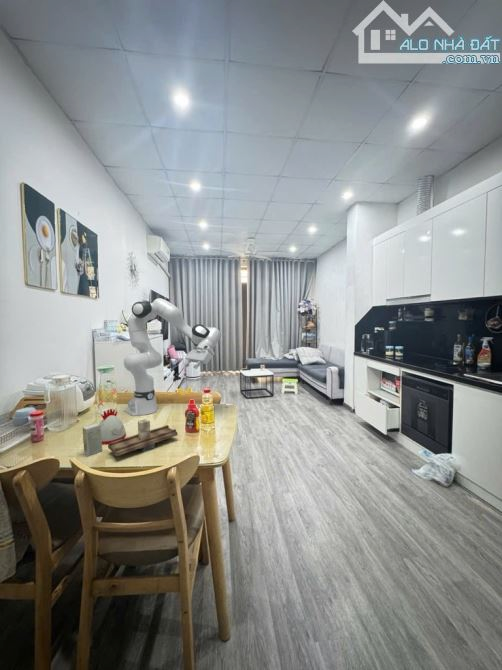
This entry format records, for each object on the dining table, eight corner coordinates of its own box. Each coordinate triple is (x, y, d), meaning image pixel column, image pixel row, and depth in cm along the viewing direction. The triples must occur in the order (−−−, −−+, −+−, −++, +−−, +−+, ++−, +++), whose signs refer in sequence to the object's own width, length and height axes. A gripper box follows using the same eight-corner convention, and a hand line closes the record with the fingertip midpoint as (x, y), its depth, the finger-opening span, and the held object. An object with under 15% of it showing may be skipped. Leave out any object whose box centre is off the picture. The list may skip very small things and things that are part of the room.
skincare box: (98, 448, 122) (97, 422, 122) (102, 451, 119) (101, 424, 119) (83, 453, 117) (82, 426, 117) (86, 456, 114) (85, 429, 114)
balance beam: (166, 433, 137) (166, 424, 137) (177, 440, 129) (177, 430, 129) (108, 453, 117) (107, 442, 117) (117, 462, 109) (116, 450, 109)
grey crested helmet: (88, 441, 130) (87, 411, 129) (114, 431, 142) (113, 403, 141) (106, 447, 123) (105, 415, 123) (131, 435, 135) (130, 407, 135)
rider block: (146, 435, 126) (146, 418, 126) (150, 437, 123) (149, 420, 123) (138, 437, 123) (137, 421, 123) (141, 440, 120) (141, 423, 120)
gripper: (191, 345, 169) (178, 362, 163) (210, 347, 155) (196, 365, 148) (197, 351, 173) (184, 368, 166) (216, 353, 158) (203, 372, 152)
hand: (190, 367), depth 157 cm, fingers open, 8 cm apart
